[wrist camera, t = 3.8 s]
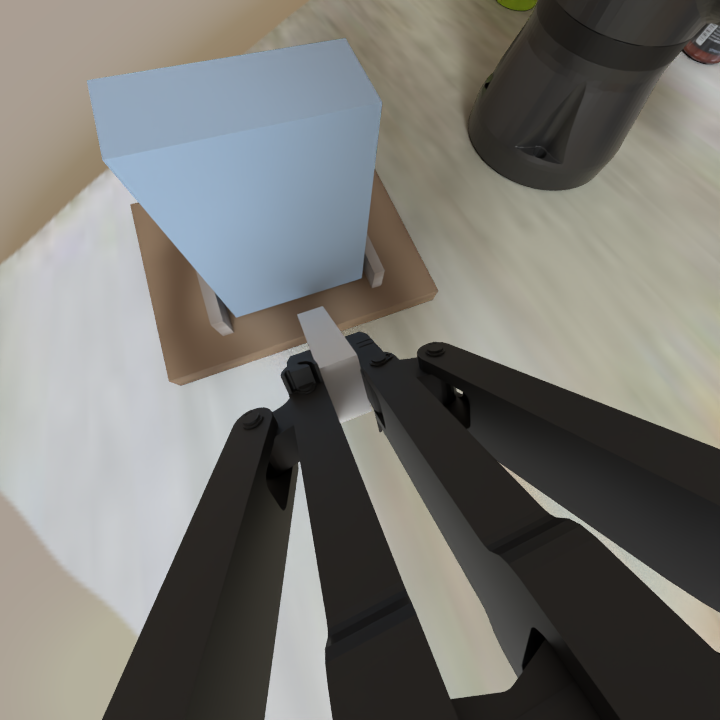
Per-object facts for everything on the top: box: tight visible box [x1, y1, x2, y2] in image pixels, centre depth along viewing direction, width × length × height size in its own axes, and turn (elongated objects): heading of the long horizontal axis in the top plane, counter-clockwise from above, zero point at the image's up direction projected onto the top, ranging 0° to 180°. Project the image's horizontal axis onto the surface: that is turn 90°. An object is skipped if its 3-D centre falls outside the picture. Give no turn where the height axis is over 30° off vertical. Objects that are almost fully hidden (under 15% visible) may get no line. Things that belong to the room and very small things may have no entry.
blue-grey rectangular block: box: [87, 38, 382, 318], centre depth 16 cm, size 10×4×12 cm, turn 111°
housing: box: [130, 169, 438, 385], centre depth 22 cm, size 21×16×4 cm
